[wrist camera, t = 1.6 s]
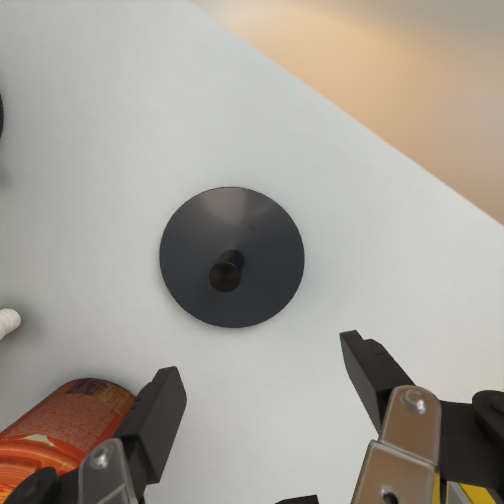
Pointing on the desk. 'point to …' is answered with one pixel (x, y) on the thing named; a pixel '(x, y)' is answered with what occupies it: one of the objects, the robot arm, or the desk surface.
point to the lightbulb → (8, 321)
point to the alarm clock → (468, 494)
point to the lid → (231, 257)
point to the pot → (1, 116)
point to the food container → (61, 430)
